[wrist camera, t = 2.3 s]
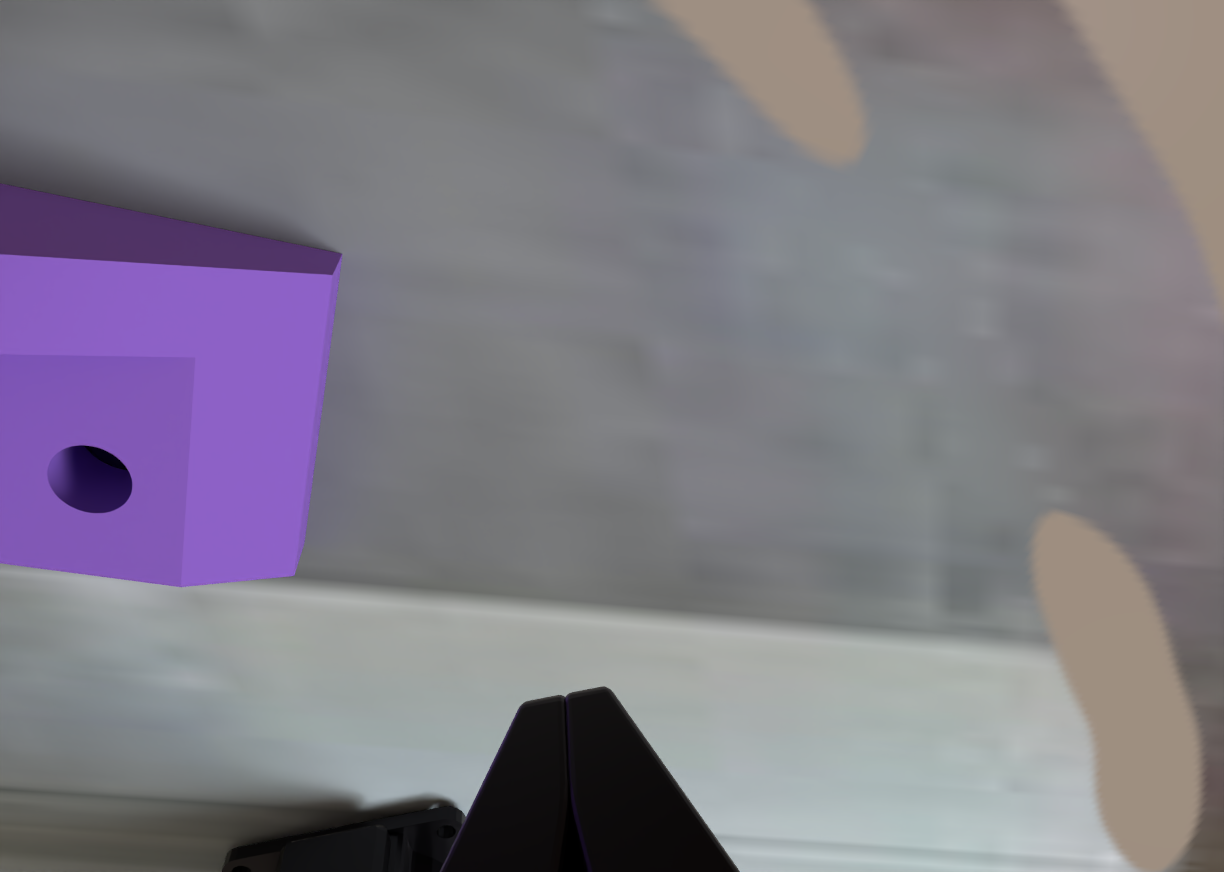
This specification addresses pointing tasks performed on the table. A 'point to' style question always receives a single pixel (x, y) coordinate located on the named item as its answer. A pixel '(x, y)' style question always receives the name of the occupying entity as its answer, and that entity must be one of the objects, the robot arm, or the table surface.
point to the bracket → (156, 392)
